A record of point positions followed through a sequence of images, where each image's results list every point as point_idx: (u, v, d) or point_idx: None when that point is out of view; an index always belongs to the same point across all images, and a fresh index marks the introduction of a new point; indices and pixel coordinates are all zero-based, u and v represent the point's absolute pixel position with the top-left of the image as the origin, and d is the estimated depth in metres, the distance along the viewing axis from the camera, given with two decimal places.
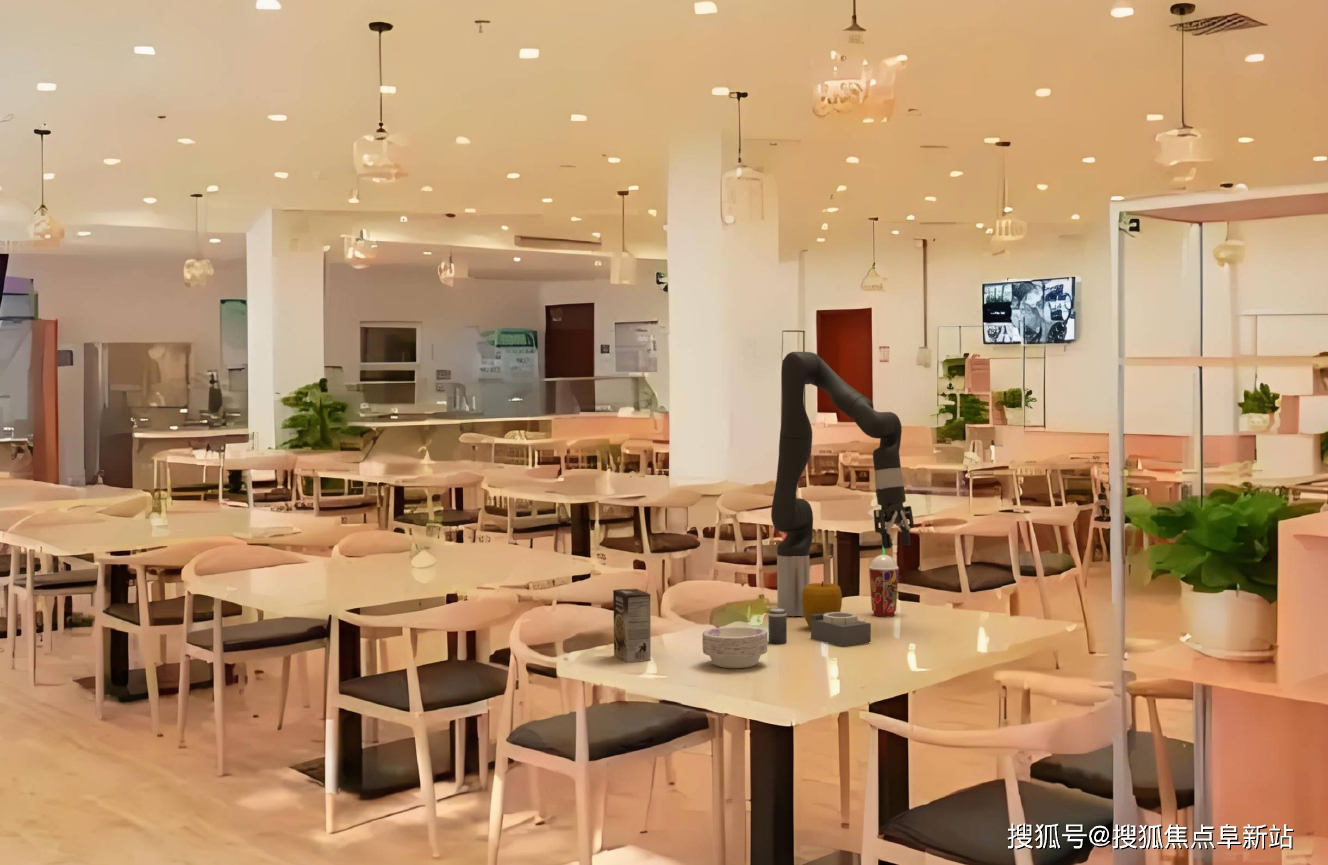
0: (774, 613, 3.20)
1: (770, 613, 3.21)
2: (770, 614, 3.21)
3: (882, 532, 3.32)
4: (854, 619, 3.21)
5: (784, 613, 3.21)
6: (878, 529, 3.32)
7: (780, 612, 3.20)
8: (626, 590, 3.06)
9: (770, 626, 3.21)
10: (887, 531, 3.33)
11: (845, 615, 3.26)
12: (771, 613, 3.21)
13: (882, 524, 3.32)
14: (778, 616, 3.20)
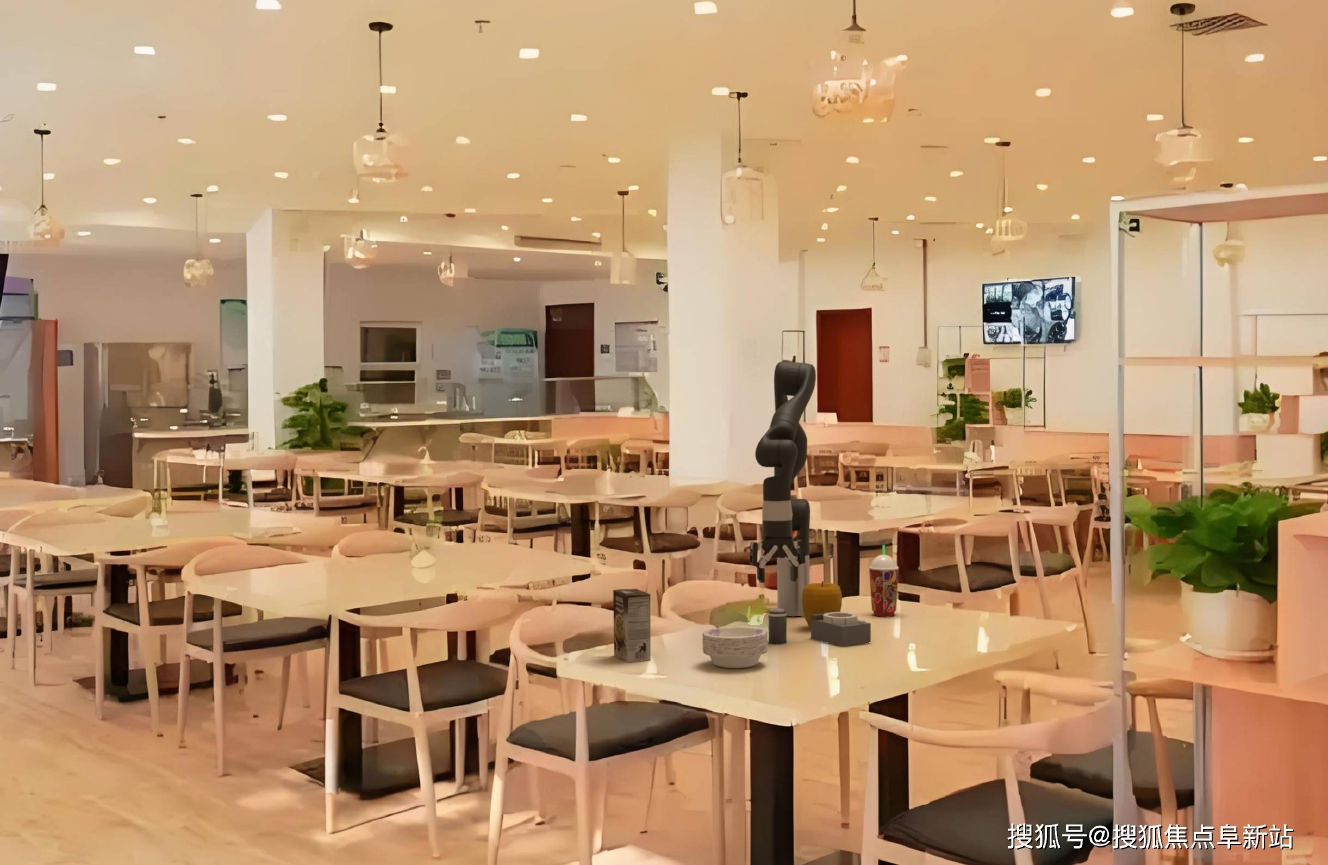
0: (774, 613, 3.20)
1: (770, 613, 3.21)
2: (770, 614, 3.21)
3: None
4: (854, 619, 3.21)
5: (784, 613, 3.21)
6: (751, 562, 3.20)
7: (780, 612, 3.20)
8: (626, 590, 3.06)
9: (770, 626, 3.21)
10: (760, 565, 3.19)
11: (845, 615, 3.26)
12: (771, 613, 3.21)
13: (753, 558, 3.19)
14: (778, 616, 3.20)
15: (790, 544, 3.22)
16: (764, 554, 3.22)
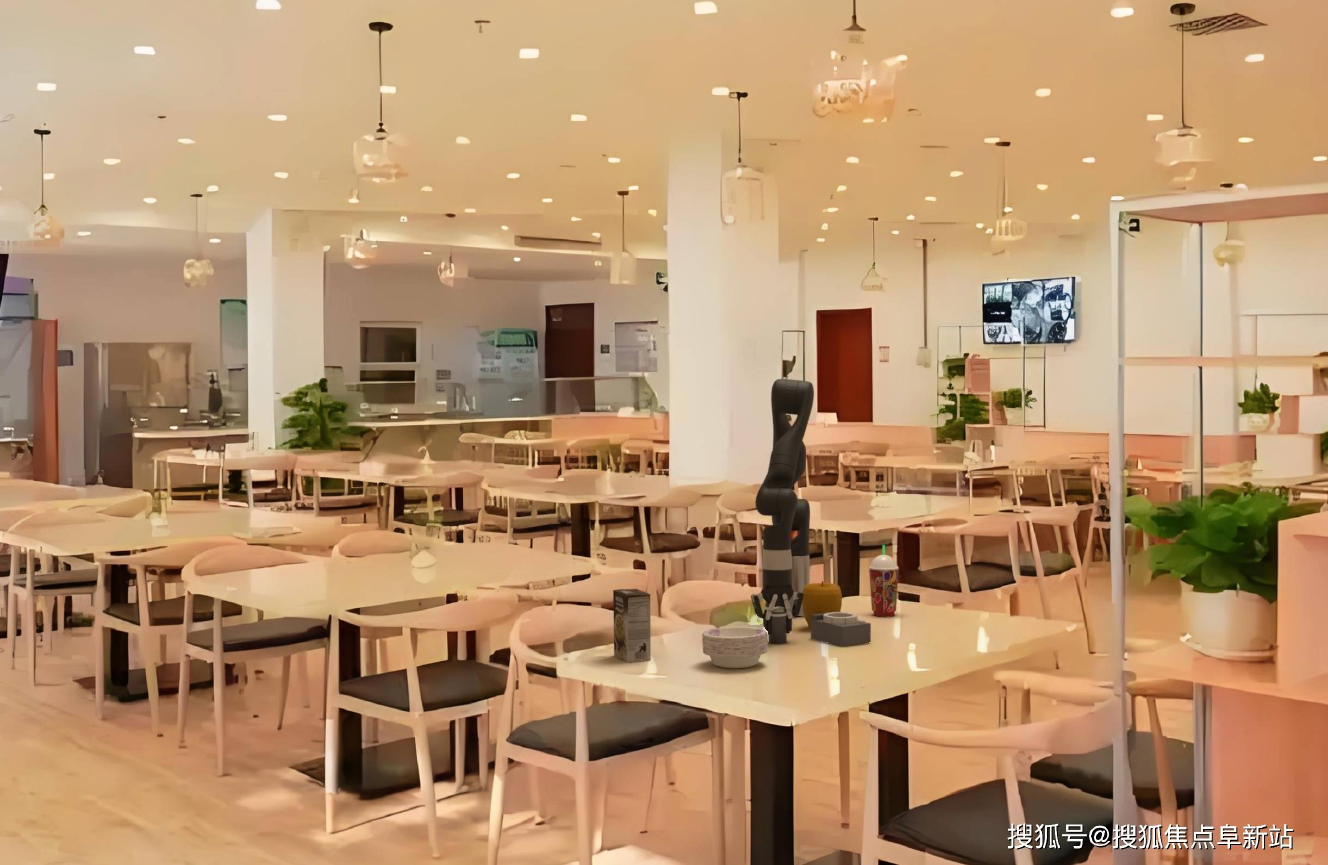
0: (774, 613, 3.20)
1: None
2: None
3: (760, 617, 3.21)
4: (854, 619, 3.21)
5: (784, 613, 3.21)
6: (757, 615, 3.21)
7: (780, 612, 3.20)
8: (626, 590, 3.06)
9: None
10: (766, 617, 3.20)
11: (845, 615, 3.26)
12: (771, 613, 3.21)
13: (758, 611, 3.20)
14: (778, 616, 3.20)
15: (790, 593, 3.22)
16: (767, 604, 3.23)
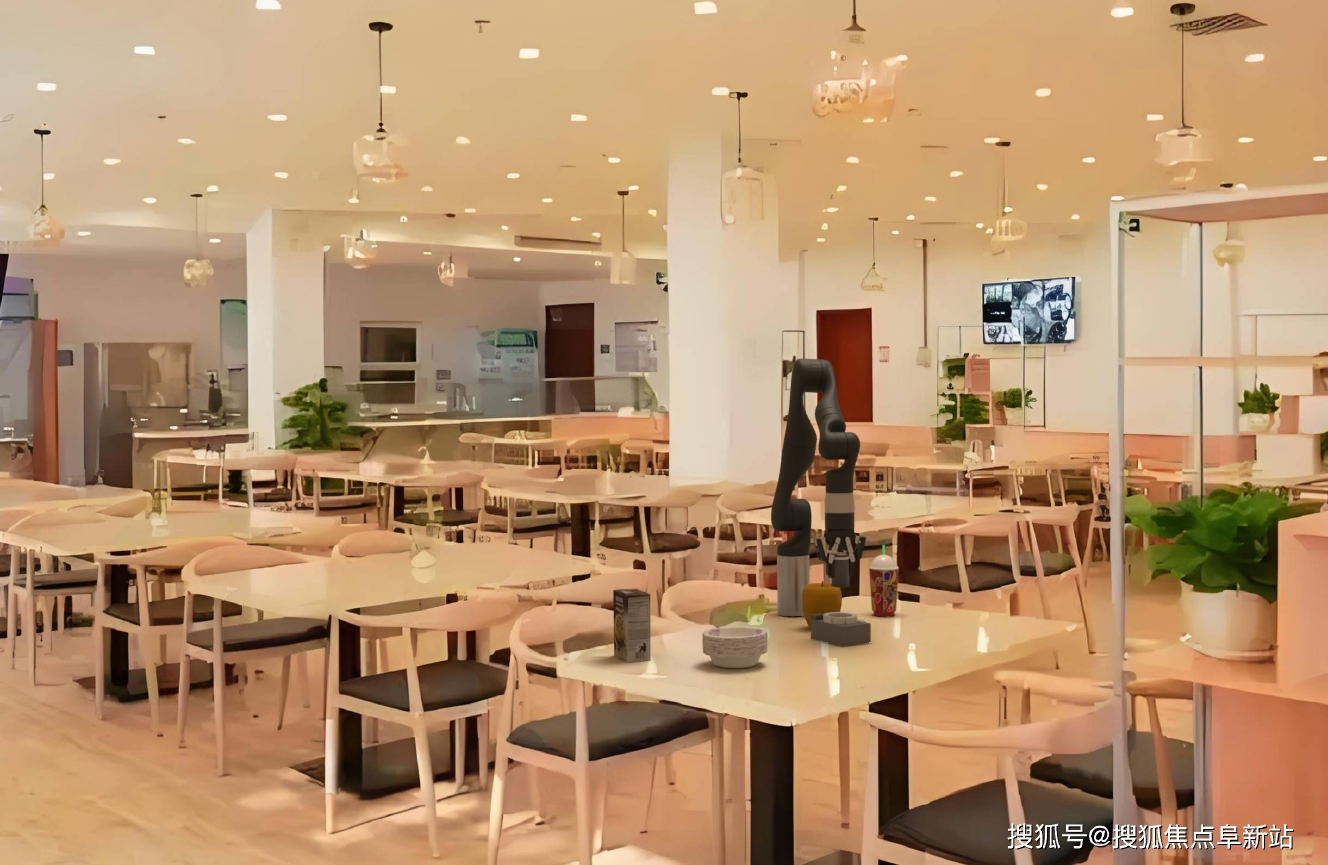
0: (837, 556, 3.21)
1: None
2: None
3: None
4: (854, 619, 3.21)
5: (847, 556, 3.22)
6: (820, 558, 3.22)
7: (843, 555, 3.21)
8: (626, 590, 3.06)
9: None
10: (829, 560, 3.21)
11: (845, 615, 3.26)
12: (834, 556, 3.22)
13: (821, 554, 3.21)
14: (841, 559, 3.21)
15: (852, 536, 3.23)
16: (829, 548, 3.24)
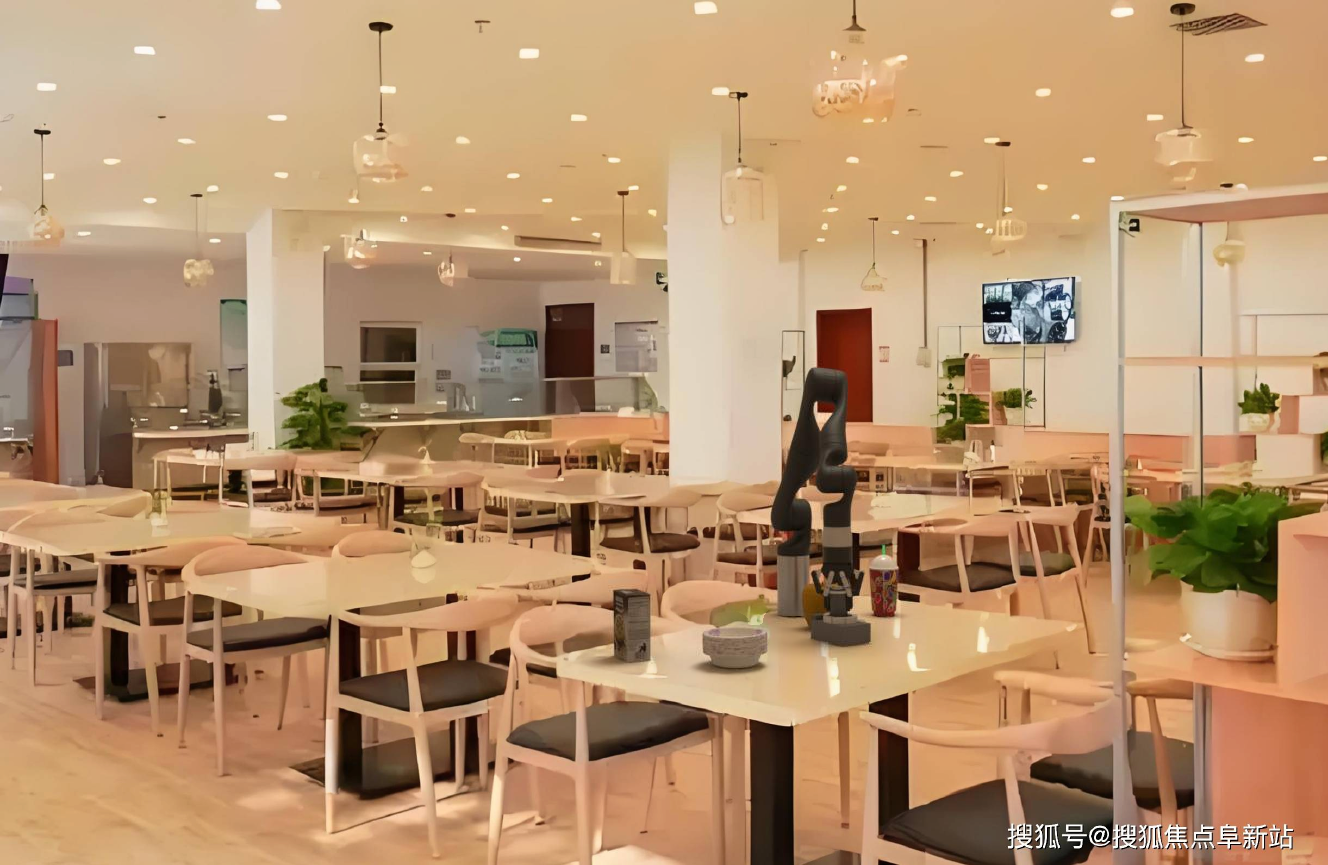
0: (831, 590, 3.22)
1: (829, 590, 3.23)
2: (829, 591, 3.23)
3: None
4: (854, 619, 3.21)
5: (842, 591, 3.21)
6: None
7: (837, 589, 3.21)
8: (626, 590, 3.06)
9: (829, 603, 3.23)
10: (824, 593, 3.23)
11: None
12: (829, 590, 3.23)
13: (815, 586, 3.23)
14: (835, 593, 3.21)
15: (849, 571, 3.21)
16: None
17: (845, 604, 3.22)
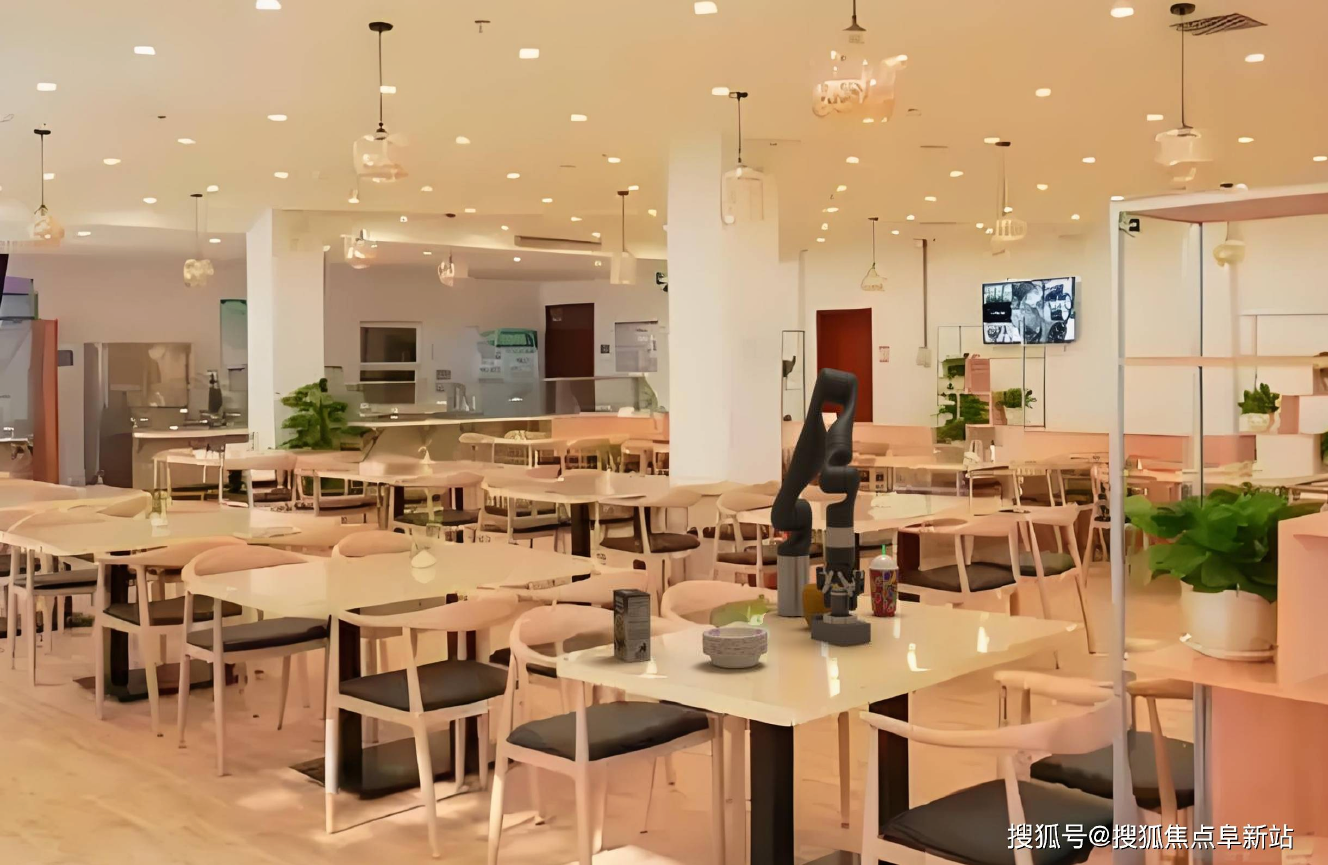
0: (831, 591, 3.23)
1: None
2: None
3: None
4: (854, 619, 3.21)
5: (839, 592, 3.21)
6: None
7: (835, 591, 3.22)
8: (626, 590, 3.06)
9: None
10: (823, 590, 3.26)
11: None
12: None
13: (817, 582, 3.27)
14: (833, 594, 3.22)
15: (847, 572, 3.20)
16: None
17: (843, 606, 3.21)
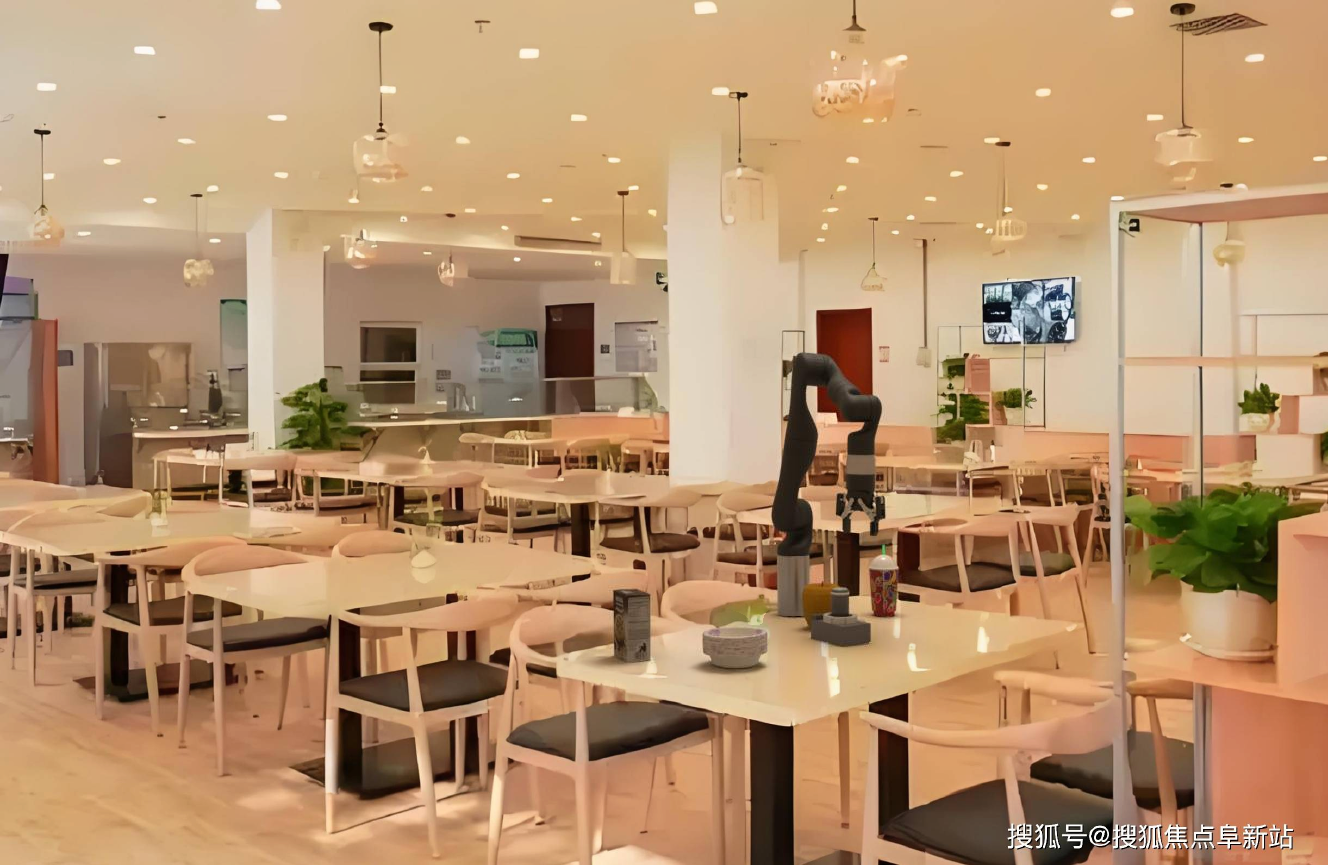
0: (831, 591, 3.23)
1: None
2: None
3: None
4: (854, 619, 3.21)
5: (839, 592, 3.21)
6: None
7: (835, 591, 3.22)
8: (626, 590, 3.06)
9: None
10: (842, 516, 3.31)
11: None
12: None
13: (837, 508, 3.33)
14: (833, 594, 3.22)
15: (867, 499, 3.25)
16: None
17: (843, 606, 3.21)
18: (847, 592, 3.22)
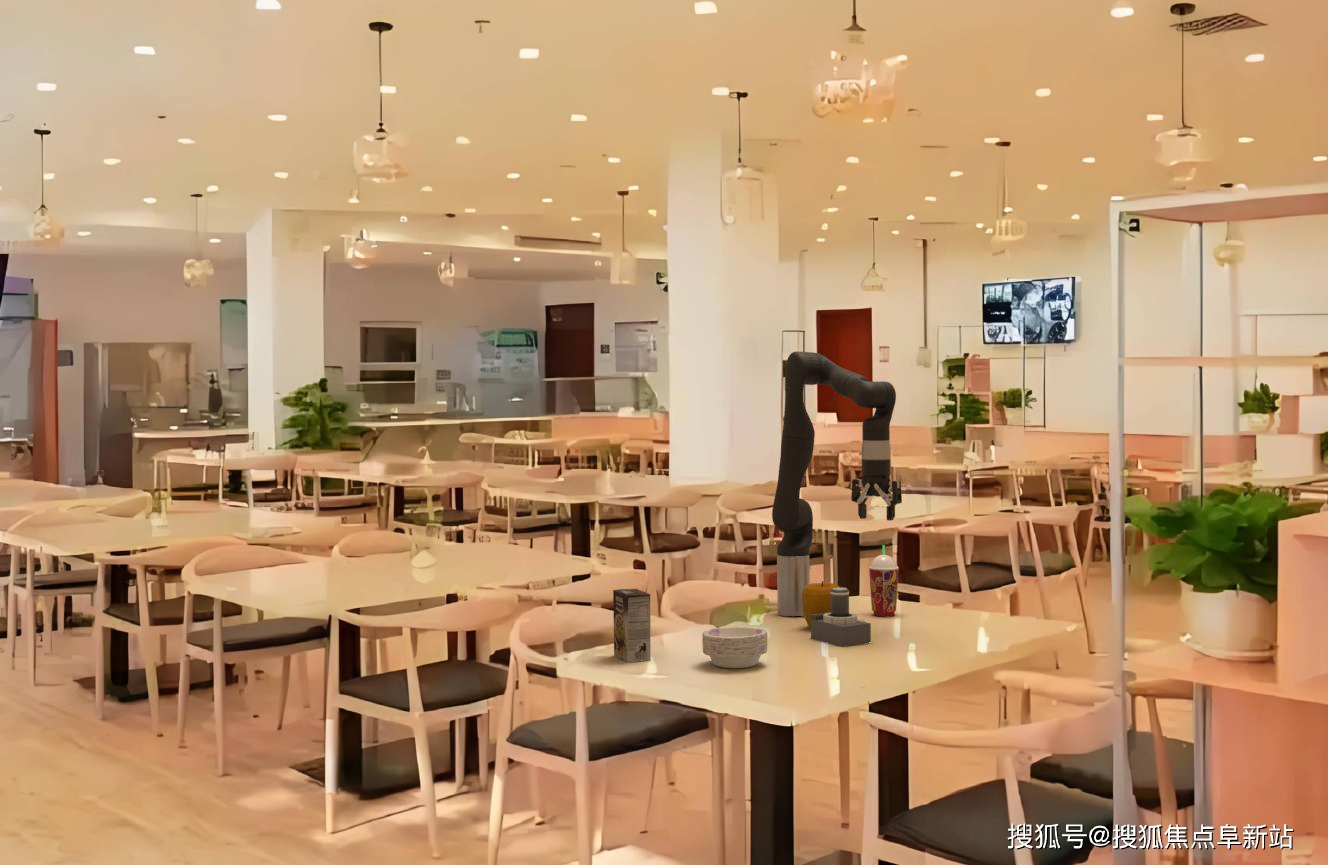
0: (831, 591, 3.23)
1: None
2: None
3: None
4: (854, 619, 3.21)
5: (839, 592, 3.21)
6: None
7: (835, 591, 3.22)
8: (626, 590, 3.06)
9: None
10: (857, 501, 3.35)
11: None
12: None
13: (852, 494, 3.36)
14: (832, 594, 3.22)
15: (883, 483, 3.29)
16: None
17: (843, 606, 3.21)
18: (847, 592, 3.22)
